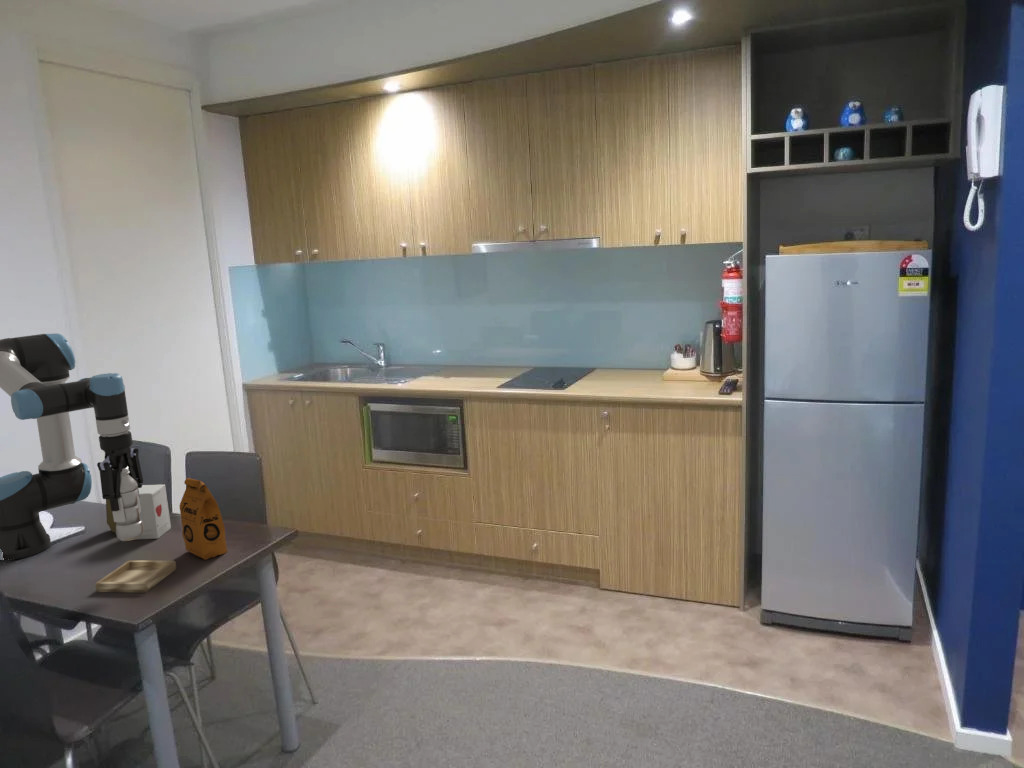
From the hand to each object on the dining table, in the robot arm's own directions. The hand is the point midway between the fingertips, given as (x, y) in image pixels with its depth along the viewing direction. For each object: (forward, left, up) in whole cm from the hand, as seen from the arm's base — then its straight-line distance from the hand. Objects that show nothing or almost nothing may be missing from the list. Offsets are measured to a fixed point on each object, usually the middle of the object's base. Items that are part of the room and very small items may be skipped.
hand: (127, 516), depth 194 cm
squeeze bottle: (-28, +34, -18) cm, 48 cm away
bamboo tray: (0, 0, -18) cm, 18 cm away
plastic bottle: (0, 0, -7) cm, 7 cm away
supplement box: (-16, +31, -18) cm, 40 cm away
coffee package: (+10, +18, -18) cm, 28 cm away
